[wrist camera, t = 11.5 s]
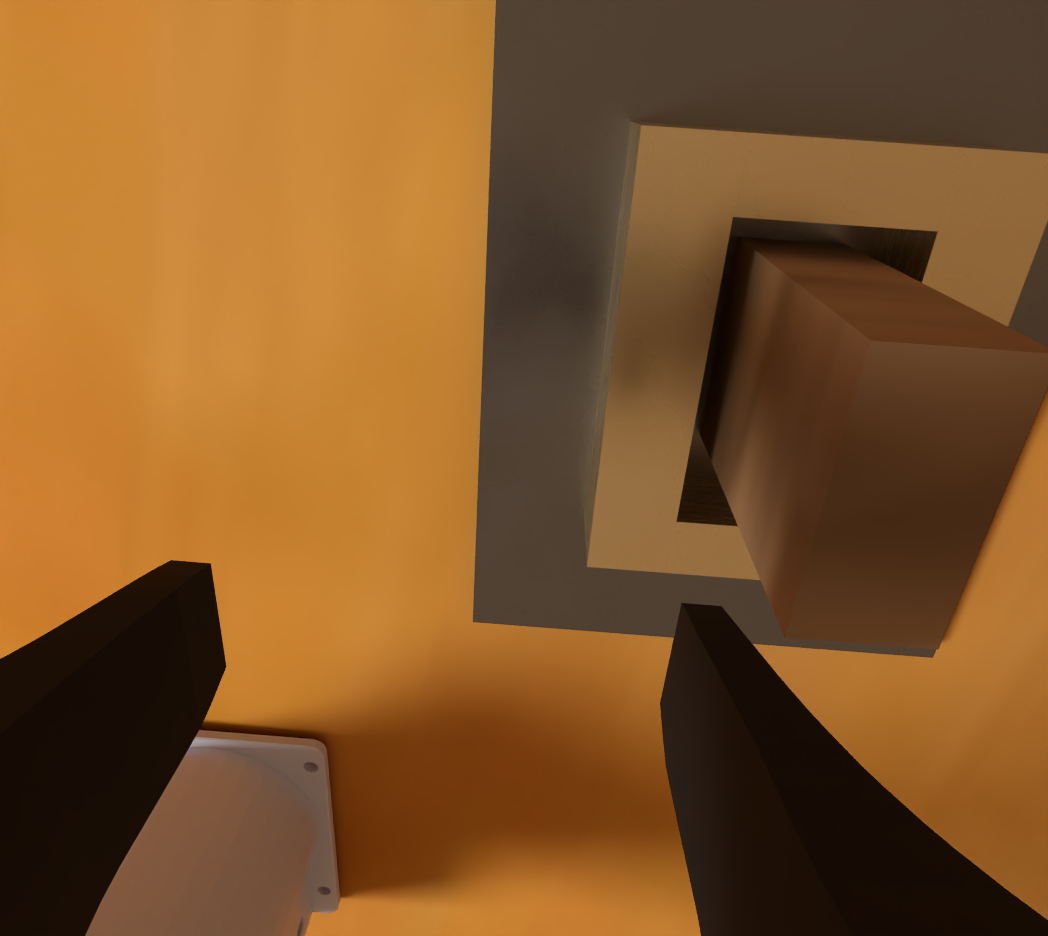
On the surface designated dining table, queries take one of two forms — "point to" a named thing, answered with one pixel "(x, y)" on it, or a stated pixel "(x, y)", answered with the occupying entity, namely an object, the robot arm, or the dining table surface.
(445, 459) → the dining table surface
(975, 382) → the thick wooden plank
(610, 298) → the grey framed slot plate
